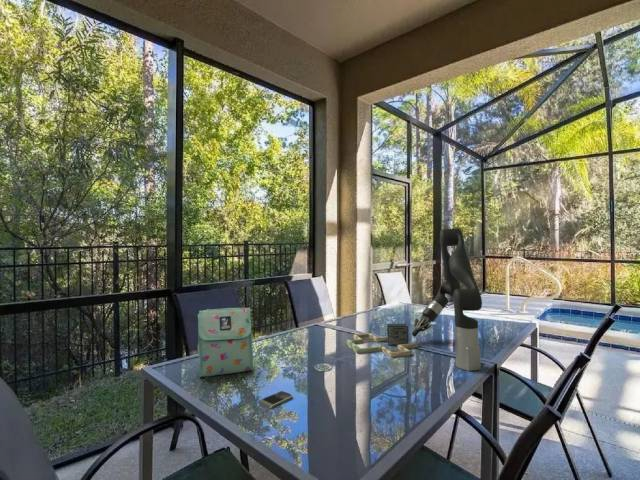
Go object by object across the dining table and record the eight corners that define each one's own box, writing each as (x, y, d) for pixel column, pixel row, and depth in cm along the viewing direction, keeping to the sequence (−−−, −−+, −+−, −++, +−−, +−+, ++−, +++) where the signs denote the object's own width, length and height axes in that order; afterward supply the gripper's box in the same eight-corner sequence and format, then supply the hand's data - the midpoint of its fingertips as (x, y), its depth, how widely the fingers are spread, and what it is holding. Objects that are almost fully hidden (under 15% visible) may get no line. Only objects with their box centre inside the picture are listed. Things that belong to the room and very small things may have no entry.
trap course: (429, 353, 167) (429, 347, 167) (365, 360, 158) (365, 353, 158) (393, 334, 203) (393, 329, 203) (339, 339, 194) (339, 334, 194)
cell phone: (294, 399, 120) (294, 395, 120) (269, 410, 112) (269, 406, 112) (282, 394, 125) (282, 390, 125) (257, 405, 116) (257, 400, 116)
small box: (406, 342, 186) (406, 323, 186) (408, 346, 179) (408, 325, 179) (387, 342, 187) (386, 323, 187) (388, 345, 180) (387, 325, 180)
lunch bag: (196, 380, 138) (195, 313, 138) (199, 366, 154) (198, 306, 154) (254, 373, 144) (253, 309, 145) (251, 361, 160) (250, 303, 160)
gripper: (421, 304, 195) (402, 328, 191) (435, 308, 182) (414, 333, 178) (430, 313, 196) (411, 336, 192) (444, 317, 183) (424, 343, 180)
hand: (413, 335), depth 185 cm, fingers closed
